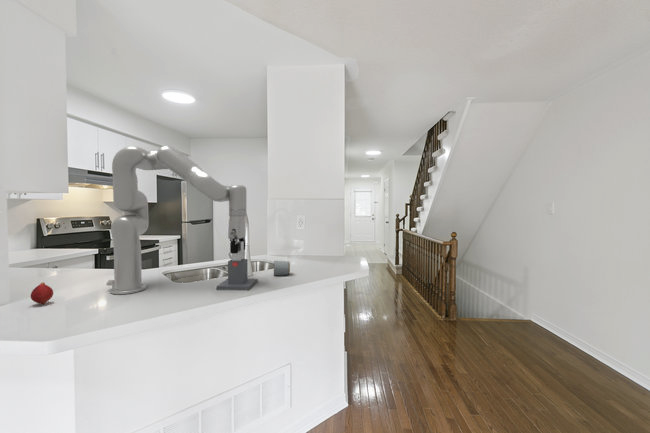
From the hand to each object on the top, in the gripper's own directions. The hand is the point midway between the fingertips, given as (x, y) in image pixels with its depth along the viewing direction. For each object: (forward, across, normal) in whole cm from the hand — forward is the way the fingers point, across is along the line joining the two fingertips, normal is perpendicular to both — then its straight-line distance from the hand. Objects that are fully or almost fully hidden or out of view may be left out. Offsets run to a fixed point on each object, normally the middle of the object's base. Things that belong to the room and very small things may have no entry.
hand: (238, 251), depth 133 cm
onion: (+15, +30, -61) cm, 70 cm away
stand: (+15, 0, 0) cm, 15 cm away
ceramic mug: (+16, -23, +15) cm, 31 cm away
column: (+14, 0, 0) cm, 14 cm away
